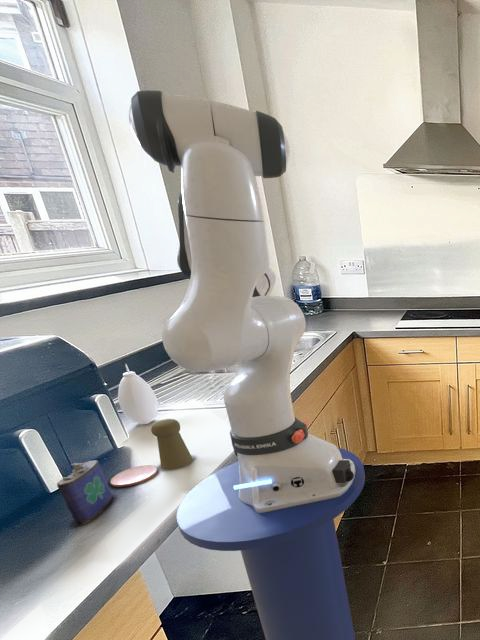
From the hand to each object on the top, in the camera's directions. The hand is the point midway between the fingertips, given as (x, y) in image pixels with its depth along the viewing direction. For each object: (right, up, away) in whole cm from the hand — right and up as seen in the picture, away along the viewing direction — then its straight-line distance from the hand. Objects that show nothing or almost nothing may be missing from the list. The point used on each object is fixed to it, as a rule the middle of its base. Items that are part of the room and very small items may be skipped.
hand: (205, 364), depth 103 cm
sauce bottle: (-30, -16, +17) cm, 38 cm away
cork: (-4, -24, -3) cm, 25 cm away
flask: (-7, -30, -20) cm, 37 cm away
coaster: (-9, -26, -9) cm, 29 cm away
